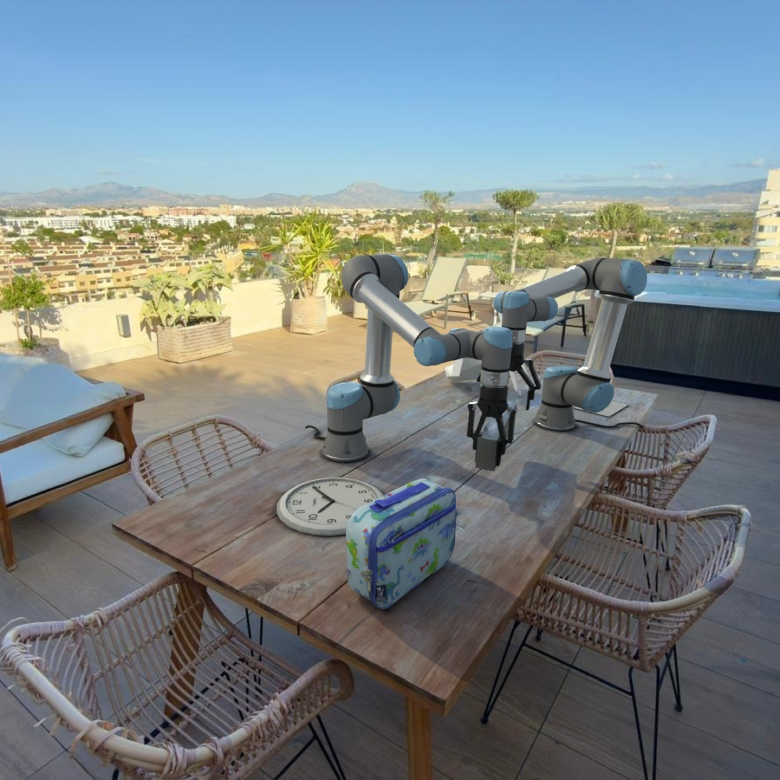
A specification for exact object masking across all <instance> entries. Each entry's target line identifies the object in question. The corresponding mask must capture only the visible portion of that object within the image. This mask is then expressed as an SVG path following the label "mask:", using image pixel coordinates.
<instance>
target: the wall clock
mask: <svg viewBox="0 0 780 780" xmlns="http://www.w3.org/2000/svg"><path fill="white" fill-rule="evenodd" d="M384 495H385V494H384V493H383V492H382V491H381V490H380V489H379V488H377V487H376V486H374V485H372V484H371V483H369V482H365V481H362V480H359V479H355V478H349V477H338V476H337V477H335V476H333V477H332V476H331V477H322V478H317V479H312V480H307V481H305V482H302V483H299V484H297V485H295V486H293V487H292V488H290V489H288V490H287V491H286V492H285V493H284V494H283V495H281V496H280V498H279V499H278V502H277V503H276V515H277V517H278V518H279V520H280V521H281V522H282V523H283V524H285V525H286V526H287V527H288V528H290V529H293V530H295V531H297V532H299V533H303V534H308V535H312V536H327V537H328V536H329V537H331V536H332V537H333V536H342V535H346V528H347V524H348V521H349V519H350V517H351V515H352V514H353V513H354V512H355V511H356V510H357V509H358V508H360V507H362V506H364V505H366V504H368V503H370V502H372V501H374V500H376V499H378V498H380V497H382V496H384Z"/></svg>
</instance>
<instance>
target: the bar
mask: <svg viewBox="0 0 780 780" xmlns="http://www.w3.org/2000/svg"><path fill="white" fill-rule="evenodd" d="M507 403H508V406H510V407H512V408H517V406H518V405H517V404H518V403H517V402H510V401H509V402H508V401H507ZM502 416H503V423H504V428H505V433H506V438H508V427H509V417H510V415H508V411H507V410H506V411H505V412H504V413H503V414H502ZM516 416H517V414H516V415H515V417H516ZM515 425H516V422H515V423H514V428H515ZM499 442H500V436H499V431H498V426H497V422H496V419H495V418H492V417H489V419H488V420H487V422H486V423H485V425H484V426H483V427H482V429H481V432H480V435H479V436H478V440H477V454H476V453H475V456H476V462H475V467H474V468H475V469H478V470H485V471H490V472H495V471H496V469H497V467H498V466H496V464H497V452H498V444H499ZM507 446H508V444H506V447H507ZM502 456H503V455H501V457H502Z"/></svg>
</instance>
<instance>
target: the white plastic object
mask: <svg viewBox="0 0 780 780" xmlns="http://www.w3.org/2000/svg"><path fill="white" fill-rule="evenodd" d="M497 314H498V318H499V321H500V324H501V326H502V316H503V314H502V313H498V312H497ZM481 368H482V360H477V359H472V358H462V359H458V360H454V361H453V364H451V365H448V366H446V367H445V368H444V370H445V376H446V378H447V379H448V380H449V382H450V383H456V382H466V381H467V382H468V381H474V380H476V381H477V378H478V377H479V375H480V373H481ZM522 368H523V369H524V371H525V373H526V374H527V375H528V377H529V378H530V379H531V377H530V374H529V371H528V368H527V365H526V363H524V364H523V365H522ZM509 376H510V378H511V382H512V386H513V388H514V390H515V391H516V392H517V394H518V396H519V397H522V391H521V387H520V384H519V381H518V378H517V374H516V371H514V372H511V371H510V373H509ZM525 384H526V383H525ZM526 388H527V389H528V390H529V389H530V388H529V387H528V385H527V384H526Z"/></svg>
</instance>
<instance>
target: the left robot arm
mask: <svg viewBox="0 0 780 780" xmlns="http://www.w3.org/2000/svg"><path fill="white" fill-rule="evenodd" d="M340 278H341V284H342V286H343V288H344V290H345V292H346V293H347V295H349V297H350V298H351V299H352V300H354V302H356V303H358V304H364V305H365V306H366V307H367V315H366V317H367V319H366V339H365V362H364V372H363V373H361V374H360V376H359V382H356V381H346V382H345V381H344V382H339V383H336V384H334V385H332V386H331V387H329V389H328V390H327V393H326V401H325V404H326V422H327V423H326V424H327V425H326V426H327V432H326V434H325V436H319V434H320V432H321V431H320V430H319V428H318V427H316V426H314V425H311V424H307V425H306V426H305V427H304V429H307V430H308V429H309V428H310V429H313V430H314V431H316V432H314V433H313V437H314V438H315V439H318V440H324V442H323V444H322V451H321V453H322V456H323V457H324V458H325V459H327V460H329V461H332V462H338V463H350V462H357V461H360V460H362V459H365V458H366V457H367V456H368V454H369V446H368V443H367V436H365V434H364V431H363V429H364V428H363V427H364V420H367V419H371V418H373V417H378V416H381V415H385V414H387V413H389V412H392V411H393V410H395V409H396V408H397V406H398V405H399V403H400V400H401V390H400V388H398V387H399V384H398V383H397V381H395V377H394V375H392V374H391V366H392V365H391V364H392V363H391V362H392V349H393V348H392V347H393V333H394V332H395V333H396V334H397V335H398V336H399V337H401V338H402V339H403V340H404V341H406V342H407V343H408V344H409V345H410V346H411V347H412V348H413V355H414V358H415V359H416V362H417V363H418V364H419V365H421V366H423V367H433V366H434V367H436V366H439V365H441V364H446V363H450V362H454V361H455V360H458V359H462V358H472V359H477V360H482V368H481V380H480V381H481V383H482V384H481V383H480V385H479V396H478V400H477V401H474V402H473V401H470V402H469V403H468V404H467V410H468V418H467V419H468V421H467V428H466V437H467V438H471V439H472V450H473V451H475V458H474V463H476V454H477V440H478V436H479V435H480V433H481V431H482V430H483V428H484V424H485V422H486V419H487V418H490V417H492V418H495V419H496V422H497V426H498V431H499V436H500V442H499V444H498V452H497V464H496V466H497V467H500V465H501V462H502V456H505V454H506V452H507V451H506V450H507V446H506V444H507V445H512V443H513V441H514V437H515V427H514V423H515V424H516V416H517V412H518V408H517V407H516V408H512V407H510V406H508V403H507V402H508V394H509V387H508V385H509V383H510V359H511V350H512V331H511V330H510V329H508V328H504V327H502V326H487V327H486V328H484V330H483V332H481V331H475V330H472V329H467V328H460V327H459V328H458V327H454V328H451V329H450V330H449V331H448V332H447V333H444V334H442V333H440V332H439V331H438V330H437V329H435V328H434V327H433V326H431V325H430V324H429V323H428V322H427V321H426V320H425V319H423V318H422V317H421V316H420V315H419V314H417V313H416V312H415V311H413V310H412V308H410V307H409V306H408V305H407V304H405V302H403V301H402V300H400V295H401V291H403V290H404V289H405V288H406V286H408V282H409V270H408V267H407V264H406V263H405V262H404V260H403V258H401V257H400V256H398V255H396V254H389V253H381V254H380V253H378V254H358V255H354V256H353V257H351V258H350V259H348V260H347V261H346V262H345V264H344V266H343V268H342V270H341V277H340ZM477 408H478V409H479V411H480V412H481V415H480V418H479V420H478V423H477V425H476V428H475V431H474V426H475V416H476V410H477ZM506 410H507V411H508V415H510V417H509V427H508V438H506V433H505V428H504V423H503V416H502V414H503V413H504V412H505V411H506ZM515 415H516V416H515ZM501 455H502V456H501Z"/></svg>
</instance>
